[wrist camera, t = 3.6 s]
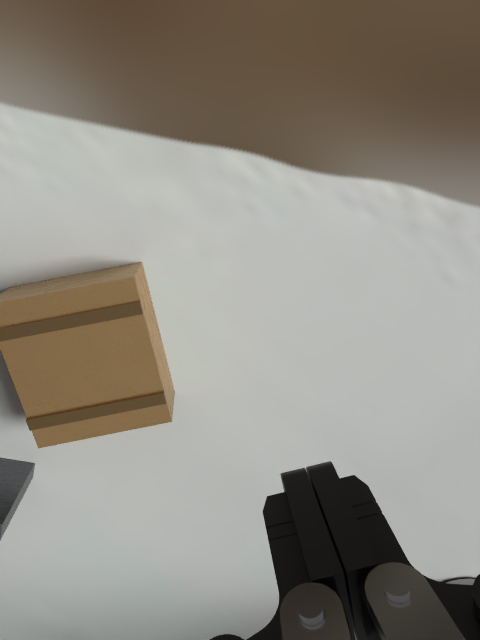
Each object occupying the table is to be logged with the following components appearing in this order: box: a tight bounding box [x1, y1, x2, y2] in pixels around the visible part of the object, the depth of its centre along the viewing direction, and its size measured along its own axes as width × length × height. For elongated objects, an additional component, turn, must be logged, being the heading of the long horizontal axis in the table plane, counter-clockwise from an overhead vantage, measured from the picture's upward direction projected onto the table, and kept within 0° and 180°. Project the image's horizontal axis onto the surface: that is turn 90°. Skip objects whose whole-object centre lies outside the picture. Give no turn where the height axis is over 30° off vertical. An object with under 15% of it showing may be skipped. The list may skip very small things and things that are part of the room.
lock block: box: [0, 262, 175, 448], centre depth 27 cm, size 8×9×4 cm
